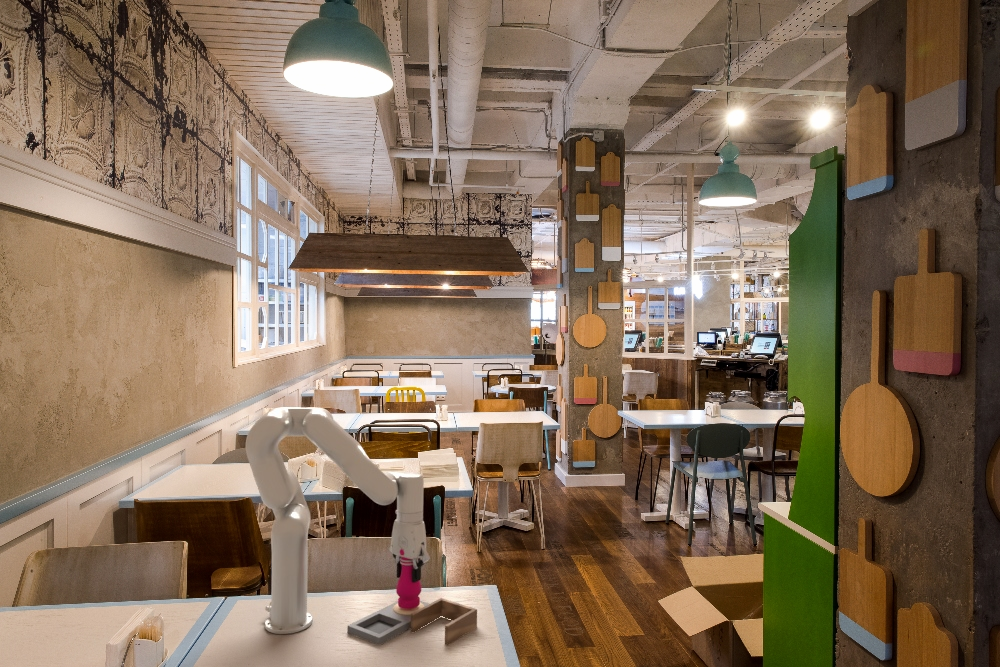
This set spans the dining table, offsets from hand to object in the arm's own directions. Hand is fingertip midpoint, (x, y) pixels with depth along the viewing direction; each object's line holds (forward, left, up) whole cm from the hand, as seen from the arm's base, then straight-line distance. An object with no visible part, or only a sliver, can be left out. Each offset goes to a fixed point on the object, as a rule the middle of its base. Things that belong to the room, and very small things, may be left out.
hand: (408, 578), depth 186 cm
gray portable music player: (0, -6, -11) cm, 12 cm away
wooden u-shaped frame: (+14, -1, -11) cm, 18 cm away
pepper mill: (0, 0, -8) cm, 8 cm away
